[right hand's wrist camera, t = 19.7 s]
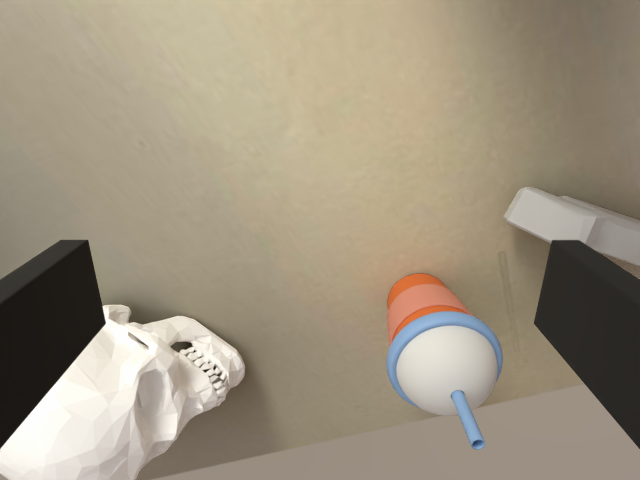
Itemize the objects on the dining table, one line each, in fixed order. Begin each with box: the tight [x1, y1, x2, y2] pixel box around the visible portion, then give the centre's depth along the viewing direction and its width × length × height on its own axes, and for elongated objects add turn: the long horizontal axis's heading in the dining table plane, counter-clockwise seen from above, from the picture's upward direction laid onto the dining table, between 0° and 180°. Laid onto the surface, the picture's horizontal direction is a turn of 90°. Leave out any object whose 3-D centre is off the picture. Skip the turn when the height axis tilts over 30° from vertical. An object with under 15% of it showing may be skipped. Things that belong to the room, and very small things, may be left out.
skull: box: [0, 305, 245, 480], centre depth 38 cm, size 13×22×16 cm, turn 85°
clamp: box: [504, 187, 640, 267], centre depth 38 cm, size 20×4×7 cm, turn 73°
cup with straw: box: [387, 274, 503, 450], centre depth 35 cm, size 9×9×18 cm
